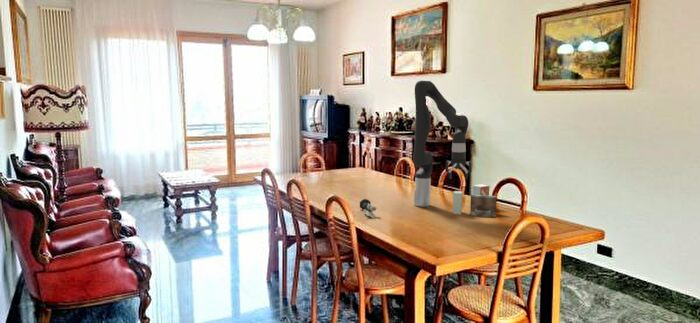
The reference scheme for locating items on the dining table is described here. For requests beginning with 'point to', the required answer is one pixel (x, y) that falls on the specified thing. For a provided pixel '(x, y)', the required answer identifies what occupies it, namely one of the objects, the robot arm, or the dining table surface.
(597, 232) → the dining table surface
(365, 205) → the artificial flower
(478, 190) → the small box
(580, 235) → the dining table surface
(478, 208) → the cleat stand
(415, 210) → the dining table surface
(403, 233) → the dining table surface
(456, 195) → the block
